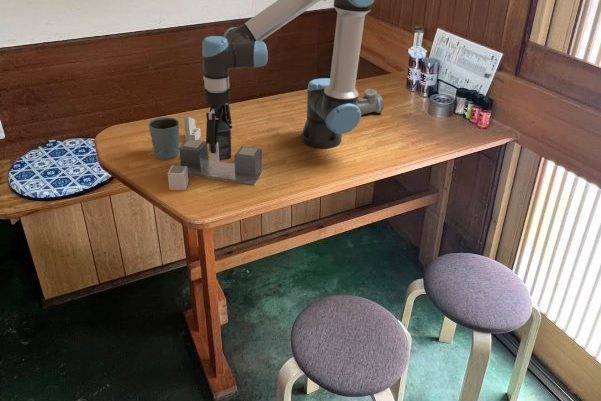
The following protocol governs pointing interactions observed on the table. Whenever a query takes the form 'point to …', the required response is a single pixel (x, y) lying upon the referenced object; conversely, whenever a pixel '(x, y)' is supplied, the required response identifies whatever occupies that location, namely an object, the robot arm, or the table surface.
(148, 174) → the table surface
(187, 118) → the white slotted bracket
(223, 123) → the box
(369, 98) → the pipe fitting
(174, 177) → the block
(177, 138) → the grey green plant pot
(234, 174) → the rail plate
